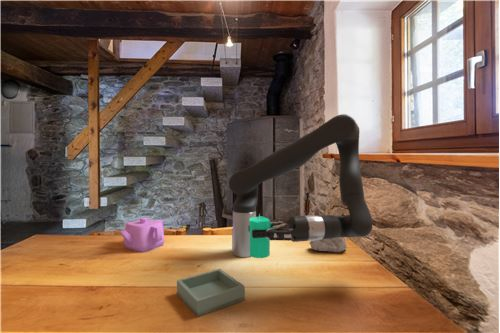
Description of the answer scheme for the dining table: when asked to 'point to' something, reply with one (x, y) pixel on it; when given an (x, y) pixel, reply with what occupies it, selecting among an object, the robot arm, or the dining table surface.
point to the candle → (259, 245)
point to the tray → (210, 291)
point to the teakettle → (143, 234)
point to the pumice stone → (329, 244)
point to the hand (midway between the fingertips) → (250, 231)
